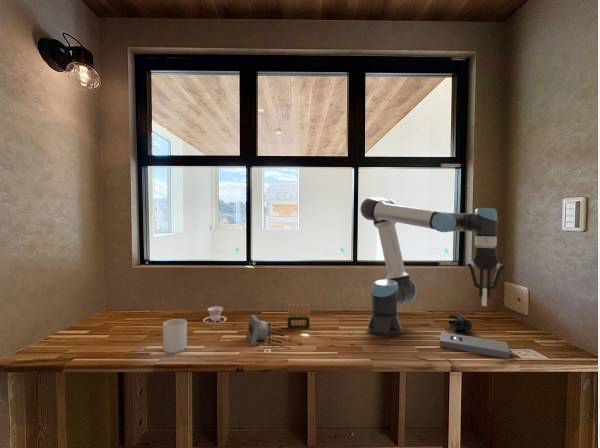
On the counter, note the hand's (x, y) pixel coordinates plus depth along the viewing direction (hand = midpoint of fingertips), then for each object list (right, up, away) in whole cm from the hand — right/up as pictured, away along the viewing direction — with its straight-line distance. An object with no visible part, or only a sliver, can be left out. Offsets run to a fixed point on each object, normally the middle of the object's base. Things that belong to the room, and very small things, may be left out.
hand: (484, 305), depth 125 cm
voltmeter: (-87, -18, +4) cm, 89 cm away
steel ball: (-9, -16, +5) cm, 19 cm away
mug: (-124, -18, 0) cm, 126 cm away
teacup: (-118, -17, +35) cm, 125 cm away
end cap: (+1, -18, +22) cm, 28 cm away
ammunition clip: (-75, -18, +25) cm, 81 cm away
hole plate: (-3, -18, +2) cm, 18 cm away
